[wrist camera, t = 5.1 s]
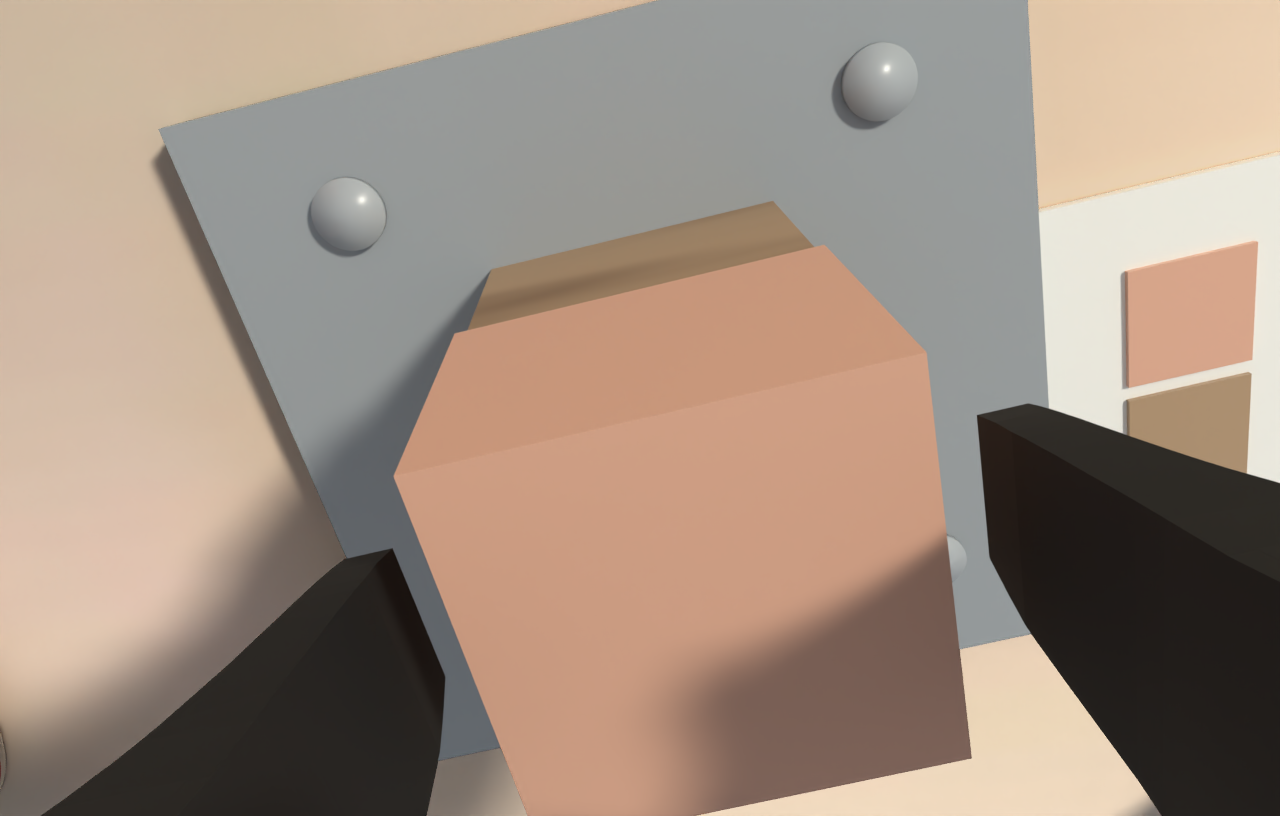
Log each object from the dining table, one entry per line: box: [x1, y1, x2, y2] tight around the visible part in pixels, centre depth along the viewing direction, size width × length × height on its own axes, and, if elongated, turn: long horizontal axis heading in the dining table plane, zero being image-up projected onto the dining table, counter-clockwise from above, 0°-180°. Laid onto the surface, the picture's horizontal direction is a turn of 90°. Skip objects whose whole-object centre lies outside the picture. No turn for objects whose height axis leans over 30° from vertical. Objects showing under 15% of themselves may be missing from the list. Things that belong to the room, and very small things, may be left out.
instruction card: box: [1039, 151, 1280, 483], centre depth 18 cm, size 8×6×1 cm
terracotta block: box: [394, 245, 972, 816], centre depth 11 cm, size 5×5×4 cm
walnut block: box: [468, 201, 814, 330], centre depth 15 cm, size 5×5×4 cm
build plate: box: [159, 0, 1049, 761], centre depth 17 cm, size 14×14×1 cm
